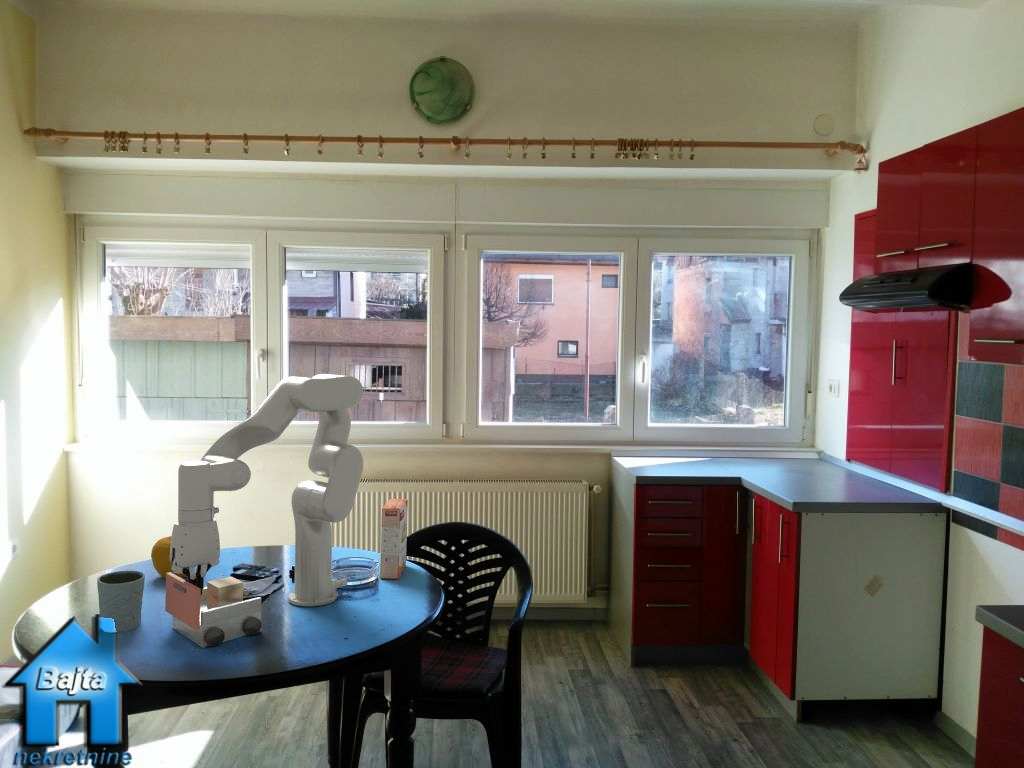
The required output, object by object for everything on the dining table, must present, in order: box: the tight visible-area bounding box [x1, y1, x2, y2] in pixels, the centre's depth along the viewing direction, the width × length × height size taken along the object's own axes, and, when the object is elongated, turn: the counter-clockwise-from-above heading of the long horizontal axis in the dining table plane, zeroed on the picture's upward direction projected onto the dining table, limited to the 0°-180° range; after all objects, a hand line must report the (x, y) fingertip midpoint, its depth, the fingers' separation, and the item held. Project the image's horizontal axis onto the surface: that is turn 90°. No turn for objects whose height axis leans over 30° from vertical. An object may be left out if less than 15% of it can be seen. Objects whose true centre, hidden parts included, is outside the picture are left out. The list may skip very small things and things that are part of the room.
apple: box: [150, 535, 196, 579], centre depth 217 cm, size 13×13×11 cm
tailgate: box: [164, 572, 201, 630], centre depth 173 cm, size 1×16×9 cm, turn 47°
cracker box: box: [379, 498, 409, 580], centre depth 225 cm, size 14×6×21 cm, turn 179°
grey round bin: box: [96, 570, 146, 633], centre depth 179 cm, size 10×10×12 cm
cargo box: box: [206, 576, 244, 609], centre depth 180 cm, size 6×6×6 cm
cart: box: [172, 586, 263, 648], centre depth 179 cm, size 14×18×8 cm
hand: (195, 593), depth 175 cm, fingers closed
